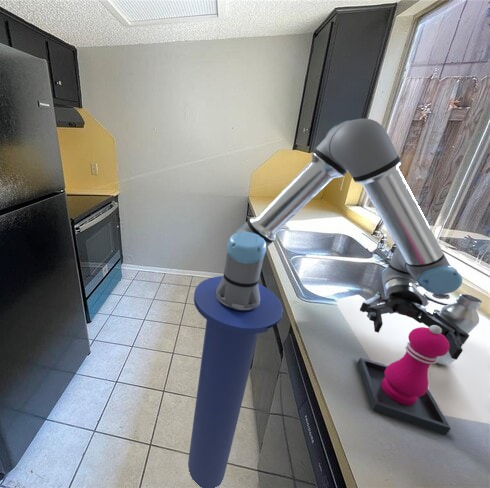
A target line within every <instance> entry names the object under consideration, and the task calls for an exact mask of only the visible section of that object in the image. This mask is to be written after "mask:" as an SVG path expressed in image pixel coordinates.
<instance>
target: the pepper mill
mask: <svg viewBox="0 0 490 488" xmlns="http://www.w3.org/2000/svg"><path fill="white" fill-rule="evenodd" d="M441 332H442V329H441V328H440V327H439V326H437V325H432V326H430V328H429V327H425V326H424V327H421V326H420V327H416V328H413V329H412V330H411V331H410V332H409V333H408V337H407V338H408V341H409V342H407V344H406V345H405V347H404V348H405V353H404V355H403V356H402V357H401V358H400V359H398V360H396V361H394V362H391V363H389V364H388V365H387V366H388V367H387V368H386V369H385V378H384V379H383V381H382V382H381V387H382V389H383V391H384V392H385V393H386V394H387V395H388V396H389V397H390V398H391V399H393V400H394V401H396V402H398V403H400V404H403V405H413V404H415V402H416V401H417V399H418V397H419V396H423V395H424V394H425V393H426V391H427V389H429V375H428V372H429V369H430V366H431V365H435V364H437V363H436V362H437V360H438V359H439V356H443V355H445V354H446V353H447V352H448V350H449V342H448V340H447V339H446V337H445V336H443V335H442V334H441Z"/></svg>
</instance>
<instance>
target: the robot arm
mask: <svg viewBox="0 0 490 488" xmlns="http://www.w3.org/2000/svg"><path fill="white" fill-rule="evenodd" d="M401 163H402V160H401V158H400V156H399V154H398V152H397V150H396V148H395V146H394V144H393V142H392V140H391V138H390V136H389V134H388V132H387V130H386V129H385V127H384V126H383V125H382V124H381V123H379V122H378V121H377V120H374V119H371V118H357V119H347V120H344V121H341V122H339V123H338V124H336V125H334V126H333V127H332V128H330V129H329V130H328V132H326V134H325V136H324V138H323V140H322V141H321V142H319V144H318V145H317V146H316V148H314V150H312V152H311V153H310V161H309V162H308V163H307V164H306V165H305V166H304V167H303V168H302V169H301V170H300V171H299V172H298V174H297V175H296V176H295V177H294V178H293V179H292V180H291V181H290V182H289V183H288V184H287V185H286V186H284V188H283V189H282V190H281V192H279V194H277V195H276V197H274V199H272V201H271V202H270V203H269V204H268V205H267V206H266V207H265V208H264V209H263V210H262V211H261V212H260V213H259V214H258V215H257V216H252V217H250V218H249V219H248V220H247V221H246V222H245V223H244V224H242V225H241V226H239V227H238V228H237V229H236V230H235V232H234V233H233V234H232V235H231V236H229V239H228V242H227V246H226V248H227V250H226V256H225V257H226V258H225V263H224V269H223V275H222V276H223V278H222V280H221V282H220V283H219V285H218V287H217V289H216V294H215V297H216V299H217V301H218V302H219V303H220V304H221V305H222V306H224V307H225V308H228V309H230V310H233V311H237V312H250V311H253V310H255V309H257V308H258V307H259V304H260V293H259V287H258V284H259V280H260V276H261V273H262V268H263V264H264V263H263V262H264V258H265V256H266V252H267V248H269V246H271V244H272V243H274V242H275V240H276V239H277V237H276V236H277V233H278V232H279V231H280V230H281V229H282V228H283V227H284V226H285V225H286V224H287V223H288V222H289V221H290V220H291V219H292V218H293V217H294V216H296V214H298V213H299V212H300V211H301V210H302V209H303V208H304V207H305V206H306V205H307V204H308V203H309V202H311V200H312V199H314V197H315V196H317V195H318V194H319V193H320V192H321V191H322V190H323V189H324V188H325V187H326V186H327V185H328V184H329V183H330V182H331V181H332V180H333V179H336V178H343V177H344V176H346V175H347V173H349V174H350V176H351V178H352V180H353V181H354V183H357V184H361V186H362V187H363V189H364V192H365V193H366V195H367V196H368V198H369V200H370V201H371V203H372V206H373V207H374V209H375V211H376V213H377V214H378V216H379V218H380V219H381V221H382V223H383V225H384V226H385V229H386V230H387V232H388V233H389V235H390V237H391V239H392V241H393V243H394V244H395V249H394V252H393V253H392V256H391V259H390V261H389V263H388V265H387V267H385V268H384V269H383V270H382V272H381V274H380V275H381V276H380V279H381V283H382V287H383V291H384V296H383V295H382V294H381V293H380V292H375V294H374V295H373V296H371V297H370V298H368V299H366V300H365V301H363V302H362V303H361V306H360V308H359V311H360V312H361V313H365V312H366V313H367V314H366V317H367V318H368V320H369V321H371V322H373V329H374V332H375V333H378V334H379V333H380V331H381V329H382V327H383V324H384V323H383V316H382V315H386V314H390V315H393V314H398V315H402V316H405V317H408V318H410V319H413V320H415V321H416V322H418V323H419V324H424V326H427V328H430V326H432V325H437V326H439V327H440V328H441V329H442V332H441V334H442V335H443V336H445V337H446V339H447V340H448V342H449V350H448V351H449V353H450V355H451V358H453V359H455V361H456V360H458V358H459V357H460V356H461V354H462V353H463V351H464V350H463V348H462V346H463V345H464V344H465V343H466V342H467V340H468V338H469V337H470V334H469V333H468V334H467V333H466V332H465V331H463V330H462V329H461V328H459V327H458V326H457V325H455V324H454V323H453V322H451V321H450V320H449V319H448V318H446V317H445V316H444V315H443V314H442V313H441V310H439V309H434V310H429V309H427V308H426V307H425V306H424V304H423V300H422V296H421V295H420V292H419V290H418V288H417V286H416V283H417V284H418V286H420V287H421V288H423V289H424V290H425V291H426V292H428V293H430V294H434V295H447V294H451V293H454V292H455V291H457V290H458V289H459V288H460V287H461V286H462V284H463V277H462V275H461V274H460V272H459V271H458V270H457V269H456V268H454V267H453V266H451V264H450V262H449V261H448V259H447V257H446V255H445V253H444V252H443V250H442V248H441V246H440V243H439V242H438V240H437V237H436V236H435V234H434V232H433V231H432V229H431V227H430V226H429V223H428V221H427V220H426V218H425V216H424V214H423V212H422V210H421V208H420V206H419V205H418V202H417V201H416V199H415V197H414V195H413V193H412V191H411V189H410V187H409V185H408V184H407V182H406V180H405V178H404V176H403V174H402V172H401V171H400V168H399V166H400V165H401Z"/></svg>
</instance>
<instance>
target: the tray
mask: <svg viewBox="0 0 490 488" xmlns="http://www.w3.org/2000/svg"><path fill="white" fill-rule="evenodd" d="M356 363H357V367H358V370H359V373H360V376H361V379H362V382H363V385H364V388H365V390H366V393H367V397H368V399H369V403H370V406H371V408H372V411H375V412H378V413H381V414H384V415H386V416H390V417H393V418H396V419H398V420H401V421H403V422H404V421H405V422H407V423H409V424H410V423H411V424H413V425H416V426H420V427H423V428H425V429H427V430H431V431H434V432H437V433H440V434H442V435H447V434H448V433H449V432H450V431H451V429H452V428H451V426H450V424H449V422H448V421H447V419H446V417H445V415H444V414H443V412H442V411H441V409H440V407H439V405H438V403H437V401H436V400H435V398H434V397H433V394H432V392H431V391H430V389H429V388H428V389H427V391H426V393H425V394H424V395H423V396H419V397H418V399H417V401H416V402H415V404H413V405H403V404H400V403H398V402H396V401H394V400H393V399H391V398H390V397H389V396H388V395H387V394H386V393H385V392H384V391H383V389H382V387H381V382H382V381H383V379H384V378H385V369H386V368H387V367H388V365H387V364H384V363H380V362H377V361H372V360H370V359H366V358H363V357H359V359H358V361H357V362H356Z"/></svg>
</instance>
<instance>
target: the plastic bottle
mask: <svg viewBox="0 0 490 488" xmlns="http://www.w3.org/2000/svg"><path fill="white" fill-rule="evenodd" d="M455 301H456V302H452V303H448V304H446V305H444V306H443V307H442V308H441V310H440V311H441V313H442V314H443V315H444V316H445V317H446V318H448V319H449V320H450V321H451V322H453V323H454V324H455V325H457V326H458V327H459V328H461V329H462V330H463V331H465V332H466V333H467V334H468V335H469V334H470V332H472V331H473V330H474V329H475V328H476V327H477V326H478V325H479V323H480V317H479V313H478V311H477V310H479V309H480V307H481V305H482V304H483V301H482V300H481V299H480V298H479V297H476V296H474V295H471V294H468V293H460V294H459V296H458V297H457V298H456V299H455ZM454 361H456V359H453V358H451V355H450V353H449V351H448V352H447V353H446V354H445V355H443V356H439V359H438V360H437V362H436V363H435V364H439V365H445V366H446V365H450V364H453V362H454Z"/></svg>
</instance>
